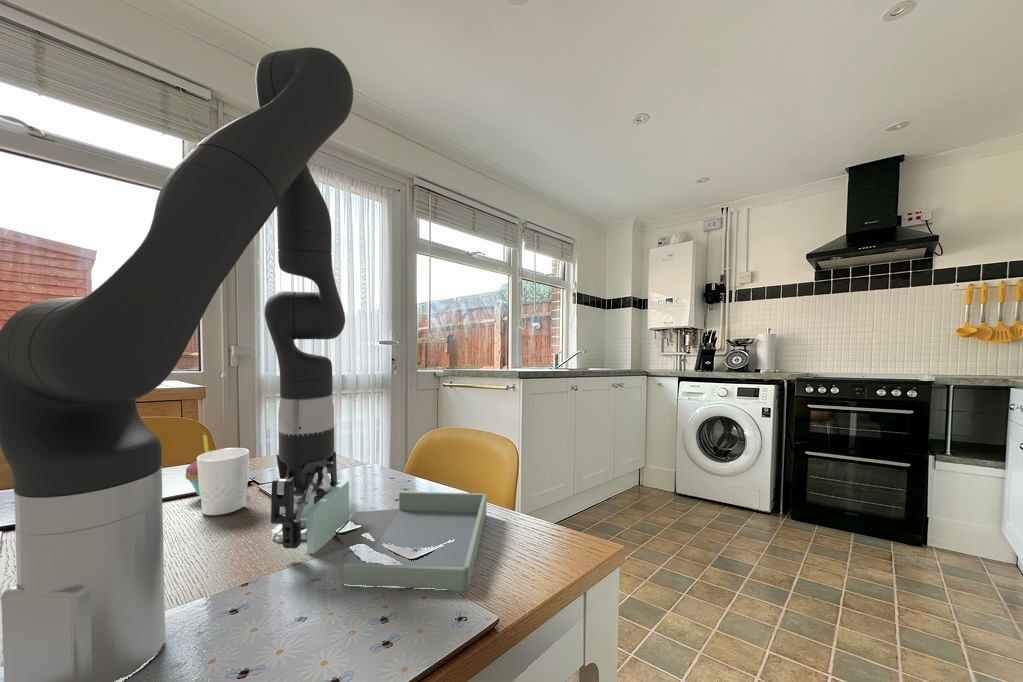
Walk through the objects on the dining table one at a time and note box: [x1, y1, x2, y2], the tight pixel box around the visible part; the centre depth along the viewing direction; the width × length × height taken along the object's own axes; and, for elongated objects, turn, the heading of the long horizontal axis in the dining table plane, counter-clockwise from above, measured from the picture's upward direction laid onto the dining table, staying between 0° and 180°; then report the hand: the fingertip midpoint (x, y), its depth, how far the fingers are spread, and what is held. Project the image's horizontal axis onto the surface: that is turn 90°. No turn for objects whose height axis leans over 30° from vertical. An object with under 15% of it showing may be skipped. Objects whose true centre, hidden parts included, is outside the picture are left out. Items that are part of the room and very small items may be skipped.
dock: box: [335, 490, 487, 593], centre depth 63 cm, size 23×24×5 cm
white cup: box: [196, 447, 250, 516], centre depth 76 cm, size 8×8×10 cm
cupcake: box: [185, 431, 210, 496], centre depth 83 cm, size 9×8×12 cm
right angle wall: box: [270, 479, 350, 555], centre depth 66 cm, size 12×12×8 cm
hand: (307, 532), depth 62 cm, fingers open, 8 cm apart
